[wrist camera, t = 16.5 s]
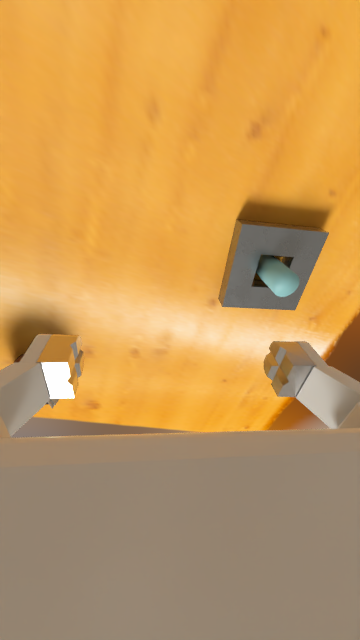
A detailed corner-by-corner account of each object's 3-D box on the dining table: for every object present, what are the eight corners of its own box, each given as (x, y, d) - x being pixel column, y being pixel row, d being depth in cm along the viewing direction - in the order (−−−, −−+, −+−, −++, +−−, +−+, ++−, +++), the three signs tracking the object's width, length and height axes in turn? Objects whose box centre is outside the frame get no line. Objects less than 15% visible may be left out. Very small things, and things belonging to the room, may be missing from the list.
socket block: (236, 219, 38) (242, 224, 35) (317, 227, 40) (329, 232, 37) (218, 298, 45) (222, 306, 43) (287, 302, 48) (295, 310, 45)
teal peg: (257, 252, 41) (278, 271, 35) (279, 254, 42) (303, 273, 35) (251, 274, 43) (269, 296, 37) (272, 276, 44) (293, 297, 37)
